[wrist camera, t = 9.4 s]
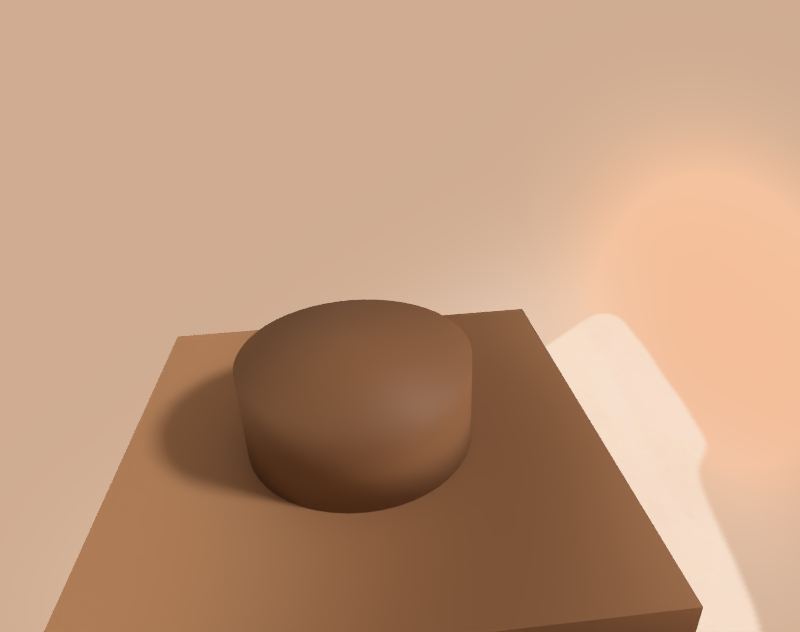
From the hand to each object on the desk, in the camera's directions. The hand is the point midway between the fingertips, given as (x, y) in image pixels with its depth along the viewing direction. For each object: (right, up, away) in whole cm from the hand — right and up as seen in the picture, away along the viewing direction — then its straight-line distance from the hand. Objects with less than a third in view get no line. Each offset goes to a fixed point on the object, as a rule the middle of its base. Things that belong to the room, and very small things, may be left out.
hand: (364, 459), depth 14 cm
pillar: (+1, -9, -1) cm, 9 cm away
